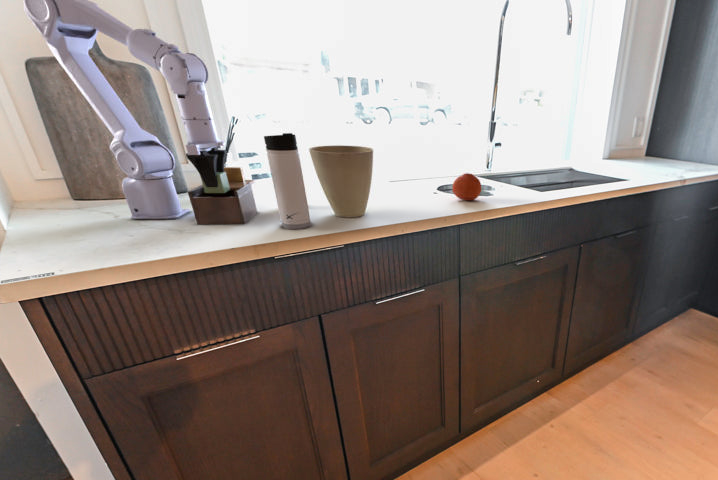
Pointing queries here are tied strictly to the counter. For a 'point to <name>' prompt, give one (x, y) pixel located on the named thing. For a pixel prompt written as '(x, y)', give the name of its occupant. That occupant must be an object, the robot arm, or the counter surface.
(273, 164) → the travel mug
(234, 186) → the lid
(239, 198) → the box
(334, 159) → the plant pot
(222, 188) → the block
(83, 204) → the counter surface
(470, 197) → the fruit
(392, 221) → the counter surface
